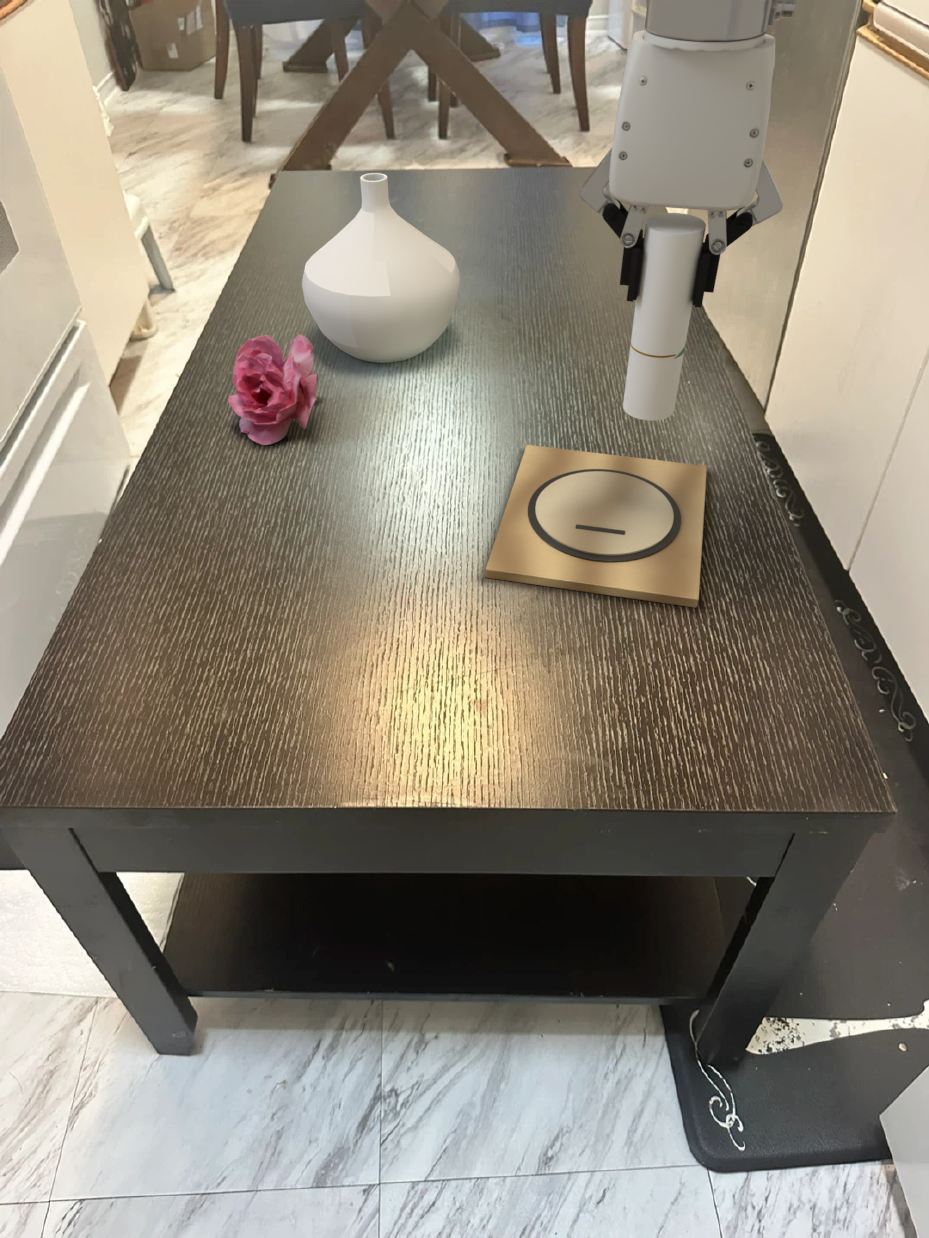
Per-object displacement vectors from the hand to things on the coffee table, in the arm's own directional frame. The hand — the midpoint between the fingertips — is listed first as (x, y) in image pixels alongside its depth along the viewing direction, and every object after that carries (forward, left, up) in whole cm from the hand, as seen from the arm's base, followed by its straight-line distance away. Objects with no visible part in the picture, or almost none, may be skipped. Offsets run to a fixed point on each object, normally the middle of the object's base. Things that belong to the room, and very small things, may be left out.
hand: (665, 294), depth 68 cm
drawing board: (+3, +1, -21) cm, 22 cm away
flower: (+39, -9, -22) cm, 45 cm away
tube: (0, 0, -10) cm, 10 cm away
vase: (+33, -29, -22) cm, 49 cm away
